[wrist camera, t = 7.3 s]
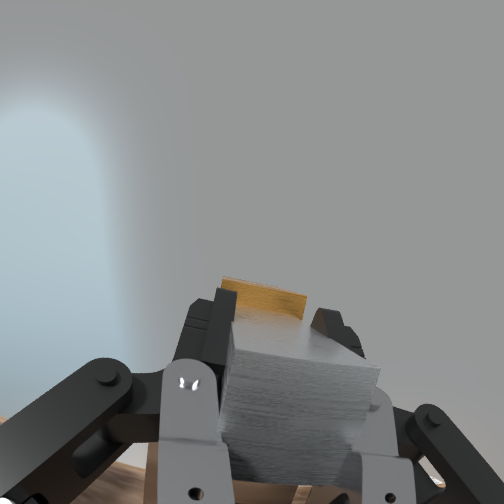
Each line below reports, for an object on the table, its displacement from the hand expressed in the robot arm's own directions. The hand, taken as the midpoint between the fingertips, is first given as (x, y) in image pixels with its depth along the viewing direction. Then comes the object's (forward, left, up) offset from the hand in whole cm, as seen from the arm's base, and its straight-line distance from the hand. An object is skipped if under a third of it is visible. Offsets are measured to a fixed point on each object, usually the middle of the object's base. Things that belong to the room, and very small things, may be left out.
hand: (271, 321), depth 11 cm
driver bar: (-3, +2, -3) cm, 5 cm away
